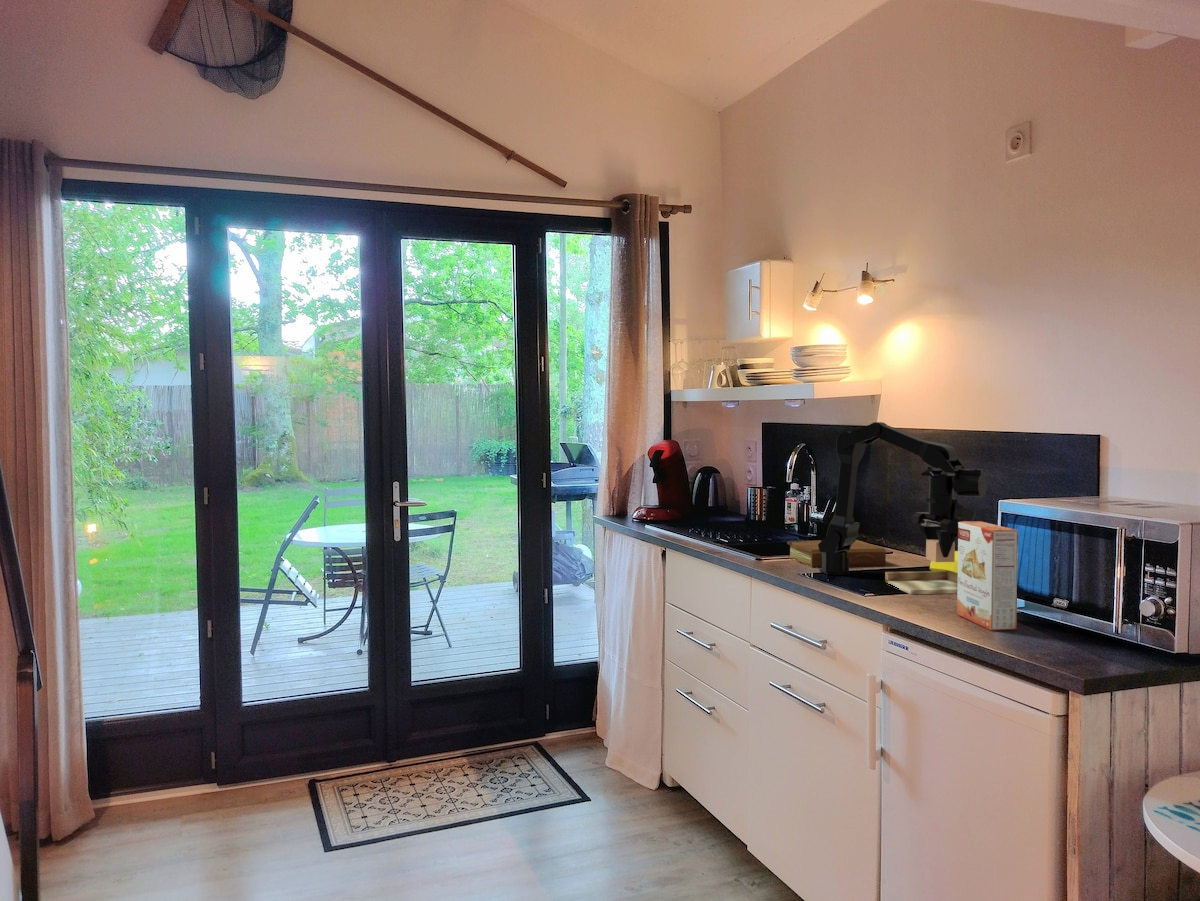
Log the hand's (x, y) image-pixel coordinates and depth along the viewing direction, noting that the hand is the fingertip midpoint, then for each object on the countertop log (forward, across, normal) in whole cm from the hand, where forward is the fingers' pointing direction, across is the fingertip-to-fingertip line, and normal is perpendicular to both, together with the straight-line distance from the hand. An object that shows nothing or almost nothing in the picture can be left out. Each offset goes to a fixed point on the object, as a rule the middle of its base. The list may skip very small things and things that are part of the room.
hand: (939, 555), depth 216 cm
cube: (+1, 0, 0) cm, 1 cm away
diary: (+9, +42, +10) cm, 44 cm away
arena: (+8, 0, +2) cm, 9 cm away
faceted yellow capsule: (+9, +17, -14) cm, 24 cm away
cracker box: (+9, -36, +9) cm, 38 cm away
